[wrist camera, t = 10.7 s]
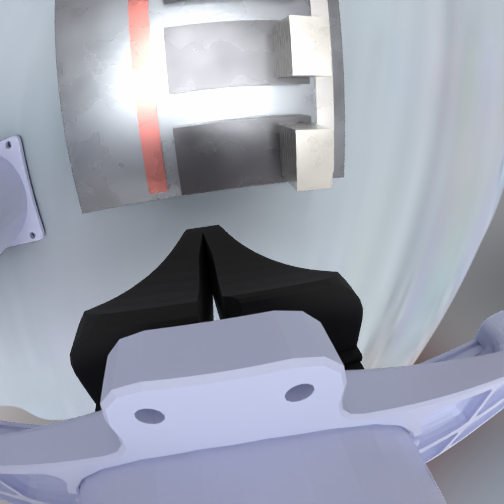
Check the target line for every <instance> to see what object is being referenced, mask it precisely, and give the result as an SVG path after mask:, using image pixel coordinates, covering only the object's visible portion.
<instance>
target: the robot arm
mask: <svg viewBox="0 0 504 504" xmlns="http://www.w3.org/2000/svg"><path fill="white" fill-rule="evenodd" d="M9 142H10V143H11V147H9V146H8V143H9ZM32 232H33V233H34V234H35V236H33V235H32ZM44 235H45V232H44V229H43V225H42V222H41V219H40V216H39V212H38V209H37V206H36V202H35V198H34V195H33V191H32V187H31V183H30V179H29V175H28V171H27V166H26V162H25V157H24V152H23V147H22V142H21V138H20V137H19V136H17V135H15V136H12V137H9V138H7V139H4V140H2V141H0V255H1V253H2V252H3V251H4V250H5V249H6V248H7V247H11V246H16V245H20V244H24V243H29V242H33V241H38V240H41V239H42V238H43V237H44ZM213 297H214V300H215V304H216V307H217V311H218V314H219V318H220V320H216V321H214V319H213ZM362 316H363V307H362V304H361V301H360V299H359V297H358V296H357V295H356V293H355V292H354V291H353V289H352V288H351V286H350V285H349V284H348V283H347V281H346V280H345V279H344V278H343V277H342V276H341V275H340V274H339V273H338V272H331V271H319V270H310V269H304V268H299V267H294V266H290V265H286V264H283V263H280V262H277V261H274V260H271V259H269V258H266V257H264V256H262V255H260V254H257V253H255V252H254V251H252V250H250V249H248V248H247V247H245V246H244V245H242V244H241V243H239V242H238V241H237V240H235V239H234V238H233V237H232V236H230V235H229V234H228V233H227V232H226V231H225V230H224V229H223V228H222V227H221V226H219V225H214V226H207V227H201V228H194V229H187V230H186V231H185V232H184V234H183V235H182V237H181V238H180V240H179V241H178V243H177V244H176V246H175V247H174V249H173V250H172V251H171V253H170V254H169V255H168V256H167V258H166V259H165V260H164V261H163V262H162V263H161V264H160V265H159V266H158V267H157V268H156V269H155V270H154V271H153V272H152V273H151V274H150V275H149V276H147V277H146V278H145V279H143V280H142V281H141V282H139V283H138V284H137V285H135V286H134V287H133V288H131V289H130V290H128V291H126V292H125V293H123V294H121V295H119V296H118V297H116V298H114V299H112V300H110V301H108V302H106V303H103V304H101V305H99V306H97V307H94V308H92V309H90V310H87V311H84V314H83V316H82V318H81V321H80V323H79V326H78V329H77V333H76V336H75V339H74V342H73V346H72V349H71V353H70V360H71V366H72V368H73V370H74V372H75V374H76V376H77V377H78V379H79V380H80V382H81V383H82V385H83V386H84V388H85V389H86V391H87V392H88V393H89V395H90V396H91V398H92V399H93V401H94V402H95V403H96V409H95V412H93V413H90V414H86V415H83V416H79V417H76V418H72V419H68V420H64V421H61V422H56V423H52V424H48V425H34V424H23V423H15V422H7V421H0V499H1V500H3V501H6V502H8V503H11V504H447V503H446V501H445V499H444V497H443V495H442V493H441V492H440V490H439V488H438V486H437V484H436V482H435V480H434V478H433V476H432V474H431V473H430V471H429V469H428V467H427V465H426V463H427V462H428V461H430V460H432V459H433V458H435V457H437V456H438V455H440V454H441V453H443V452H444V451H446V450H447V449H448V448H450V447H452V446H453V445H455V444H456V443H458V442H459V441H460V440H462V439H463V438H465V437H466V436H468V435H469V434H470V433H471V432H473V431H474V430H476V429H477V428H478V427H480V426H481V425H482V424H483V423H485V422H486V421H488V420H489V419H490V418H492V417H493V416H494V415H495V414H497V413H498V412H499V411H501V410H502V409H503V408H504V310H502V311H500V312H498V313H496V314H494V315H492V316H491V317H488V318H487V319H486V320H485V321H484V322H483V323H482V324H481V326H480V327H479V330H478V332H477V334H476V338H475V339H473V340H471V341H469V342H467V343H465V344H463V345H461V346H459V347H457V348H454V349H452V350H450V351H448V352H446V353H443V354H441V355H439V356H437V357H434V358H432V359H430V360H428V361H425V362H423V363H420V364H418V365H410V366H401V367H390V368H377V369H364V367H363V366H362V364H361V362H360V361H362V354H361V352H360V351H359V349H358V347H357V342H358V337H359V333H360V328H361V323H362Z"/></svg>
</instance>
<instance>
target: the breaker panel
mask: <svg viewBox="0 0 504 504" xmlns="http://www.w3.org/2000/svg"><path fill="white" fill-rule="evenodd" d="M55 47H56V64H57V76H58V86H59V95H60V103H61V111H62V118H63V124H64V131H65V137H66V142H67V148H68V153H69V158H70V163H71V168H72V172H73V177H74V181H75V186H76V190H77V194H78V198H79V202H80V206H81V210H82V213H88V212H93V211H98V210H103V209H108V208H113V207H118V206H124V205H129V204H135V203H140V202H146V201H152V200H158V199H164V198H170V197H176V196H183V195H189V194H196V193H203V192H210V191H217V190H225V189H232V188H240V187H248V186H257V185H265V184H274V183H284V182H288V183H289V184H290V185H291V186H292V187H293V188H294V189H295V190H296V191H305V190H315V189H325V188H332V178H340V177H344V152H345V105H344V71H343V51H342V36H341V23H340V12H339V2H338V0H55Z"/></svg>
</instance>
